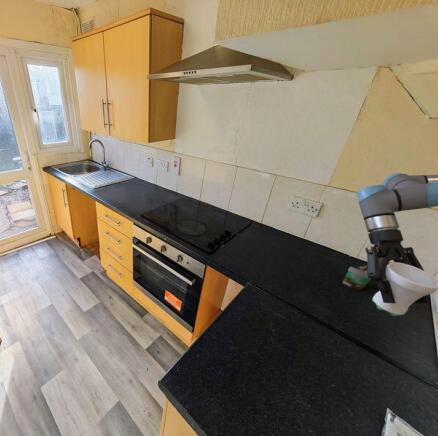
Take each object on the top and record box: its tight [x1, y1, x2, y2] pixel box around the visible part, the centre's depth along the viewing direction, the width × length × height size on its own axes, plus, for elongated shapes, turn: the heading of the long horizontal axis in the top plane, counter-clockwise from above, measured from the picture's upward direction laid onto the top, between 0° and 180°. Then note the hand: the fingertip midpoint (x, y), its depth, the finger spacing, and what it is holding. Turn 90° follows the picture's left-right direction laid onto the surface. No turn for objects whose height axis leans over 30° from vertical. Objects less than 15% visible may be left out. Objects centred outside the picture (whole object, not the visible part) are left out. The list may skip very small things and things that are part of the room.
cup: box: [371, 261, 438, 317], centre depth 69 cm, size 11×11×14 cm
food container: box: [341, 264, 374, 291], centre depth 98 cm, size 12×6×10 cm, turn 105°
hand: (406, 303), depth 68 cm, fingers closed on cup, 10 cm apart
